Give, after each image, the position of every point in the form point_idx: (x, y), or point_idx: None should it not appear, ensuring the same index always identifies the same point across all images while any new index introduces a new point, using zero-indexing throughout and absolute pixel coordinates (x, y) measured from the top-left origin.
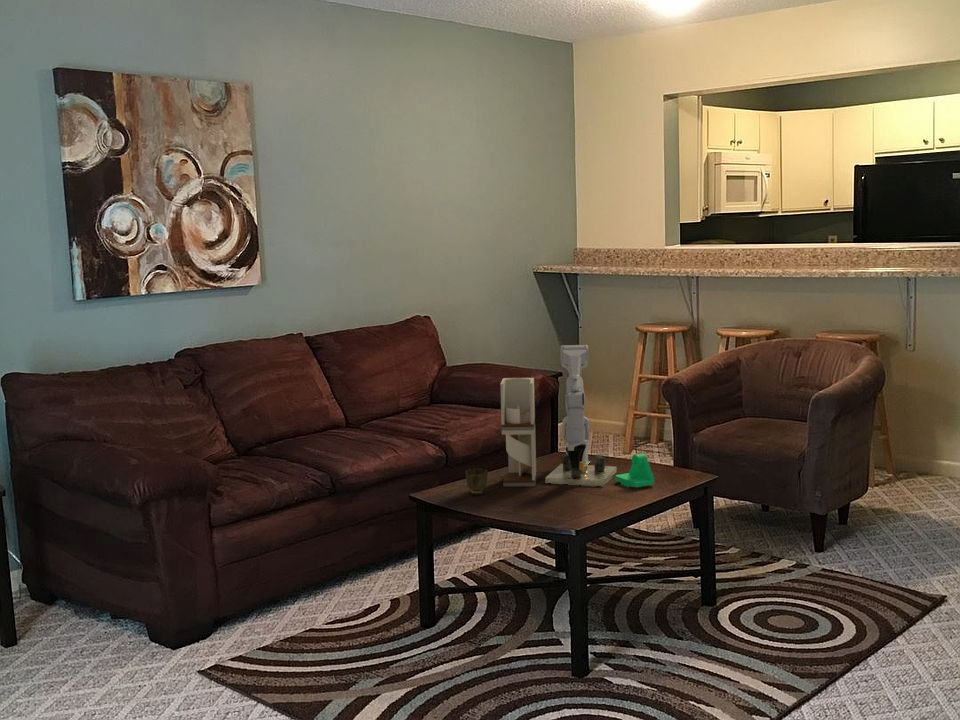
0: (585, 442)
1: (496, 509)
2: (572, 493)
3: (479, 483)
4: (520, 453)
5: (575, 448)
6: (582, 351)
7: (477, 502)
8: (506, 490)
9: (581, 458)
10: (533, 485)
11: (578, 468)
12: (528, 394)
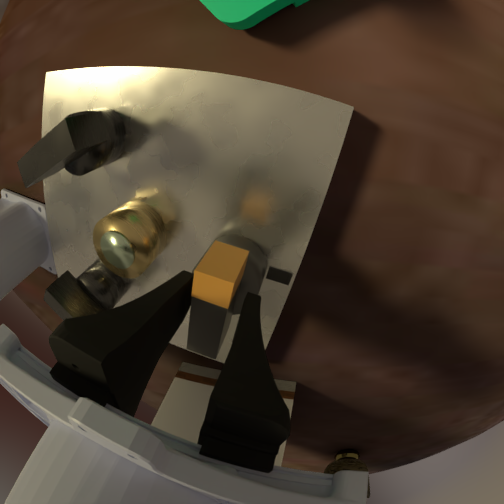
0: (157, 451)
1: (473, 422)
2: (439, 280)
3: (368, 475)
4: None
5: (273, 460)
6: None
7: (410, 447)
8: (331, 426)
9: (167, 301)
10: (295, 386)
11: (238, 285)
12: None
